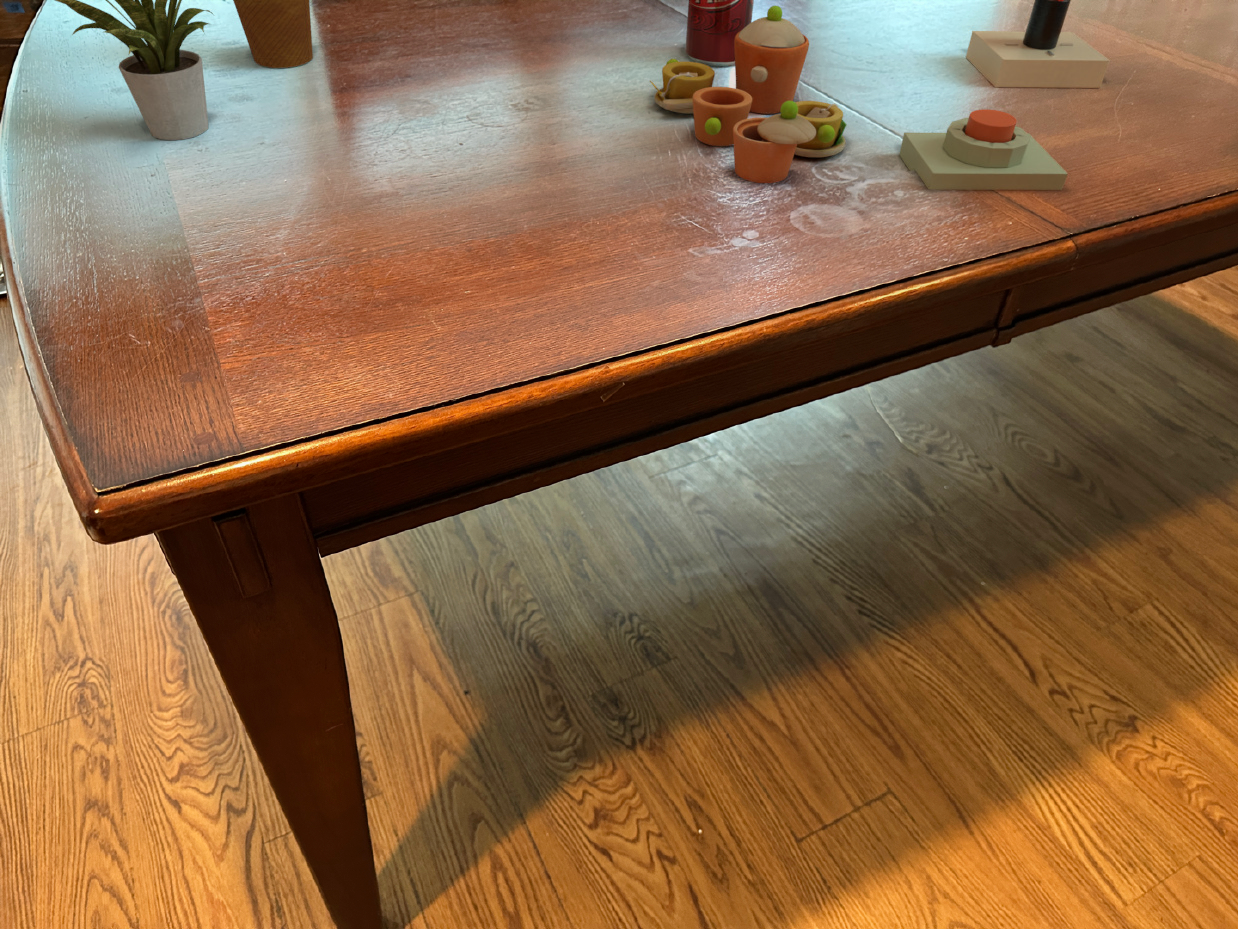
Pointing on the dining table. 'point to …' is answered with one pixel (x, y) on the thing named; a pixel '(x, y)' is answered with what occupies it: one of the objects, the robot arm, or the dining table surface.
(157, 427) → the dining table surface
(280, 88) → the dining table surface
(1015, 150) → the button housing
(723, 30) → the soda can
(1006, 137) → the button
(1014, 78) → the beige slotted block
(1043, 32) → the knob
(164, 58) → the house plant
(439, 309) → the dining table surface
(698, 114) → the toy tea set
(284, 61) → the disposable coffee cup
